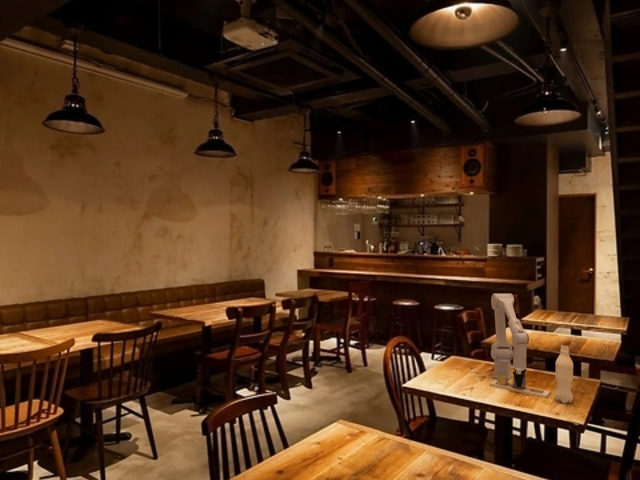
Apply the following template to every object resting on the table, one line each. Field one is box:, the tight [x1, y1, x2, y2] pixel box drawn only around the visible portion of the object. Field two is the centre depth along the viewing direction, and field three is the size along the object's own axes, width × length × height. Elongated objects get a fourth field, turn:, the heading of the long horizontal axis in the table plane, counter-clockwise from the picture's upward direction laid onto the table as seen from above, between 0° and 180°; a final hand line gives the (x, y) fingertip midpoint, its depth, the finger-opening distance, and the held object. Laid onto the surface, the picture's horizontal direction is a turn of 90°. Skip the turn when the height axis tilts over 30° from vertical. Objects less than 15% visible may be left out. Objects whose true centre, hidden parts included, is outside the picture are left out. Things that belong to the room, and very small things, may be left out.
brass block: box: [496, 373, 509, 386], centre depth 227 cm, size 4×4×6 cm
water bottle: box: [554, 345, 574, 404], centre depth 206 cm, size 7×7×25 cm
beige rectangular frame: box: [488, 379, 552, 399], centre depth 222 cm, size 8×26×1 cm, turn 50°
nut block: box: [512, 375, 527, 390], centre depth 222 cm, size 4×4×6 cm
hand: (519, 385), depth 222 cm, fingers closed on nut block, 5 cm apart
